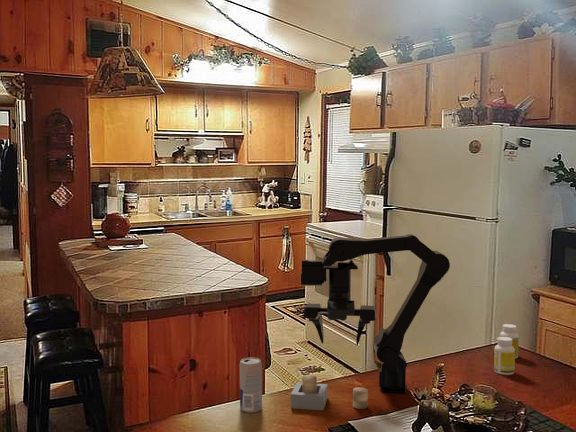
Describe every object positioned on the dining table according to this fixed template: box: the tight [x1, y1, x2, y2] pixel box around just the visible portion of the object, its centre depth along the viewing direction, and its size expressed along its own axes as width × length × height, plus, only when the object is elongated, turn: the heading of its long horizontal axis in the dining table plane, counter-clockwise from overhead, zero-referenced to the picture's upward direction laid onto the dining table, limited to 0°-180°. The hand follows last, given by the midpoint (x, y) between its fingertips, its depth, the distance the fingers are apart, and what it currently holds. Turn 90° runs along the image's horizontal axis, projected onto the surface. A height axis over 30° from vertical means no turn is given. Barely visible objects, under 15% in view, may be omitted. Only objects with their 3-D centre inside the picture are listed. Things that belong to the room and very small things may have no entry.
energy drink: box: [238, 356, 263, 414], centre depth 138 cm, size 5×5×12 cm
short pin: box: [352, 387, 369, 410], centre depth 139 cm, size 4×4×4 cm
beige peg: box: [301, 374, 318, 393], centre depth 141 cm, size 4×4×6 cm
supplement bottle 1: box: [499, 323, 520, 359], centre depth 176 cm, size 5×5×10 cm
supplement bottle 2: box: [493, 336, 516, 376], centre depth 162 cm, size 5×5×10 cm
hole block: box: [290, 382, 328, 411], centre depth 141 cm, size 8×8×4 cm
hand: (339, 343), depth 150 cm, fingers open, 9 cm apart
